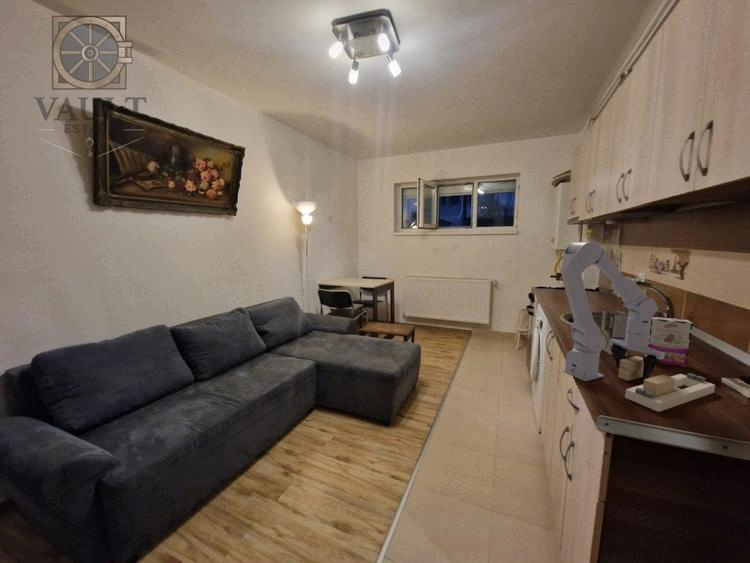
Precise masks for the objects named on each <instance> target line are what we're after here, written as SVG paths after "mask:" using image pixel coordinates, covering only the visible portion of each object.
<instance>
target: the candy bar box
mask: <svg viewBox="0 0 750 563" xmlns="http://www.w3.org/2000/svg"><path fill="white" fill-rule="evenodd" d="M693 324H694V323H693V322H692V321H691V320H690V319H681V318H669V317H661V316H660V317H659V316H653V318H652V319H651V324H650V331H649V338H648V346H647V347H650V348H652V349H655V350H658V351H660V352H664V353H665V354H664V359H661V360H660V361H659V362H658V363H657V364H662V365H668V366H674V367H675V366H676V367H682V368H687V367H688V362H689V353H690V346H691V339H692V331H693ZM645 356H648V355H645V354H644V357H645Z"/></svg>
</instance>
